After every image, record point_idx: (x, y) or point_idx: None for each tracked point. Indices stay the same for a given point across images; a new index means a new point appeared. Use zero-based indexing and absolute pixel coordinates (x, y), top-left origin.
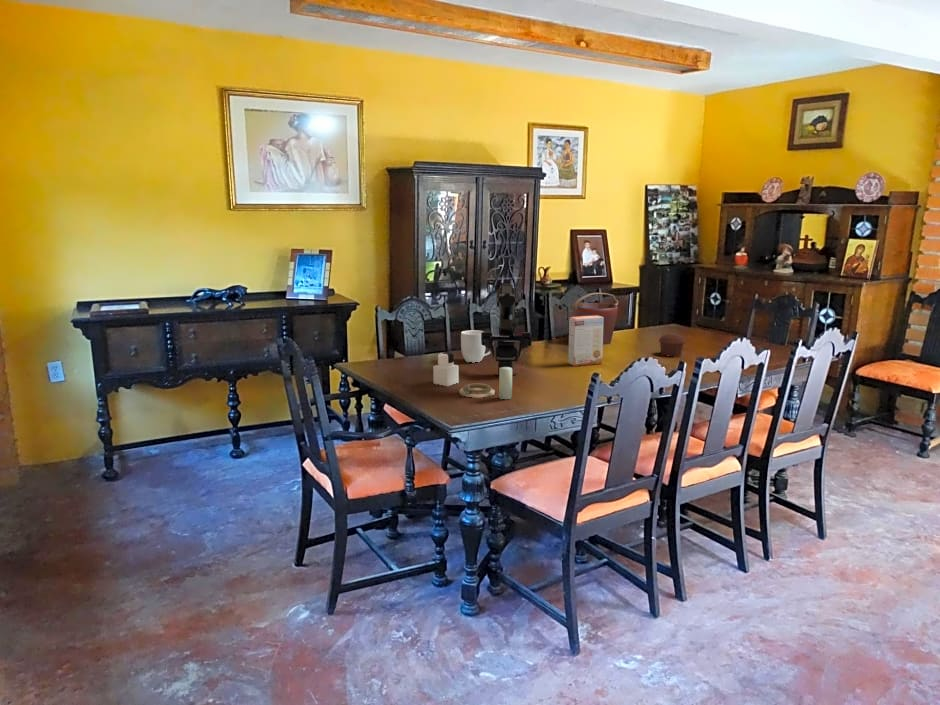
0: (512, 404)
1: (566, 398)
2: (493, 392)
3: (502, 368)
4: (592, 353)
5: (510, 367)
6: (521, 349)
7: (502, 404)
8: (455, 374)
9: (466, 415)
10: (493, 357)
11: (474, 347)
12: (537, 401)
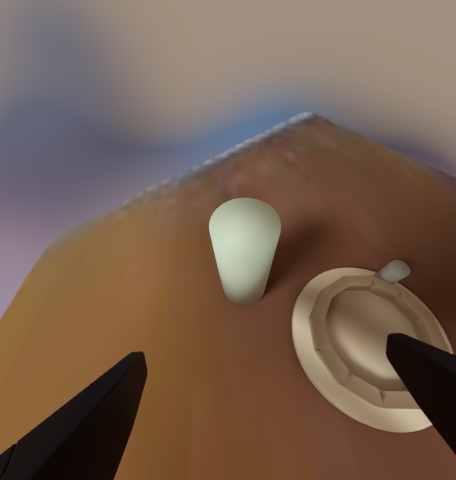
0: None
1: (42, 309)
2: (294, 314)
3: (262, 220)
4: None
5: (220, 247)
6: (31, 430)
7: None
8: None
9: (309, 152)
10: (392, 339)
11: None
12: (145, 264)
